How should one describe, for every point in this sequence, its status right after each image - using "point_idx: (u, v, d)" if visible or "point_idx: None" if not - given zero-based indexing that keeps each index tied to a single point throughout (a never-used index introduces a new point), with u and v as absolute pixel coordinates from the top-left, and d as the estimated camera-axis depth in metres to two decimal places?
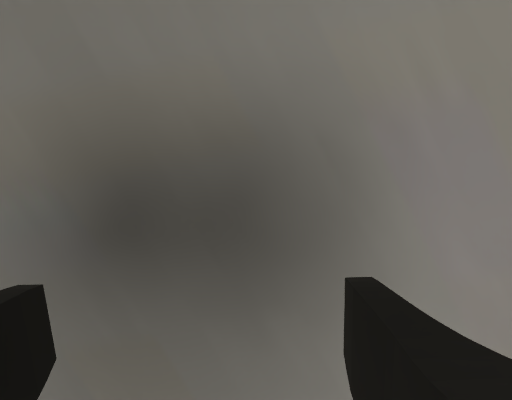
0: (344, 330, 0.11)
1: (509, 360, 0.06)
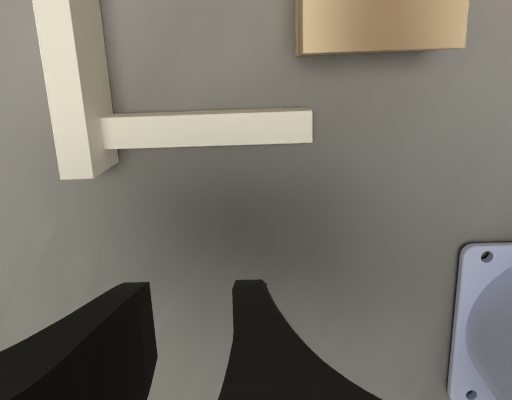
0: None
1: (321, 363, 0.06)
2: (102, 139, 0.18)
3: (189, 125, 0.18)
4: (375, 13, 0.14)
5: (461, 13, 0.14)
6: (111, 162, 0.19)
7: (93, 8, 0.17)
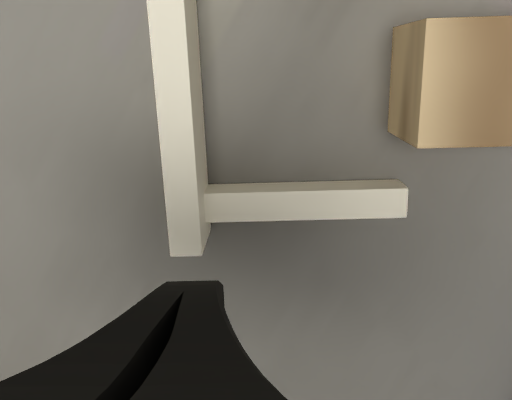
0: None
1: (247, 364, 0.06)
2: (204, 214, 0.18)
3: (289, 200, 0.18)
4: (489, 113, 0.15)
5: None
6: (208, 232, 0.19)
7: (199, 90, 0.18)
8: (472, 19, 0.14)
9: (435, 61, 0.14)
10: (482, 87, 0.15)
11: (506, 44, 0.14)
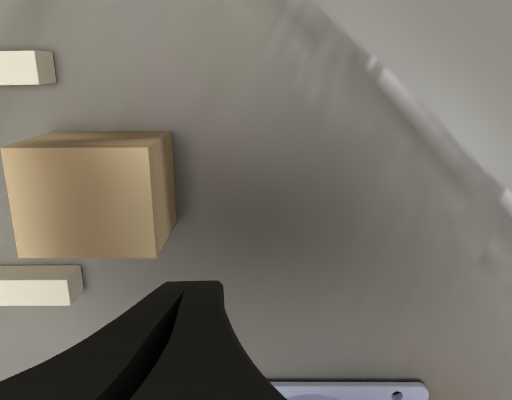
0: None
1: (247, 364, 0.06)
2: None
3: None
4: (75, 230, 0.16)
5: (148, 231, 0.16)
6: None
7: None
8: (40, 150, 0.16)
9: (16, 184, 0.16)
10: (64, 207, 0.16)
11: (76, 172, 0.16)
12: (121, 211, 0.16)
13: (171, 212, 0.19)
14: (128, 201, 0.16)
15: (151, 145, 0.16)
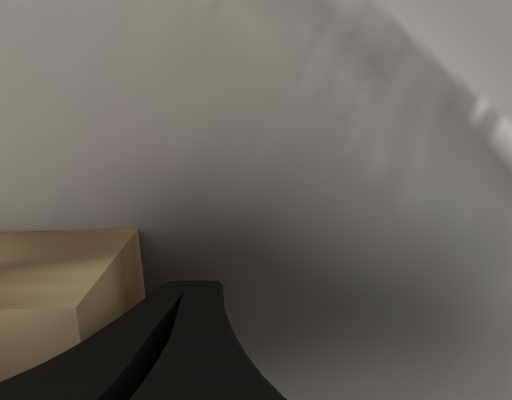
0: None
1: (246, 364, 0.06)
2: None
3: None
4: None
5: None
6: None
7: None
8: None
9: None
10: None
11: None
12: None
13: None
14: None
15: (86, 294, 0.08)
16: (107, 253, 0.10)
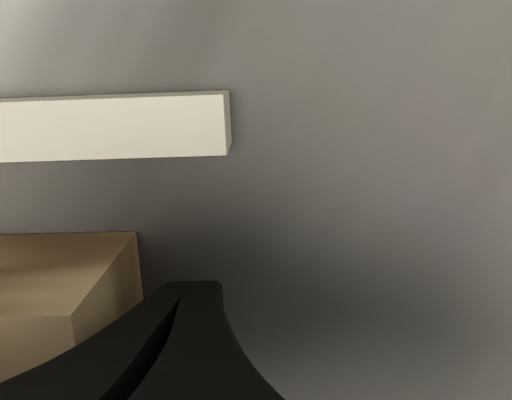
0: None
1: (245, 364, 0.06)
2: None
3: None
4: None
5: None
6: None
7: None
8: None
9: None
10: None
11: None
12: None
13: None
14: None
15: (82, 301, 0.08)
16: (104, 258, 0.10)
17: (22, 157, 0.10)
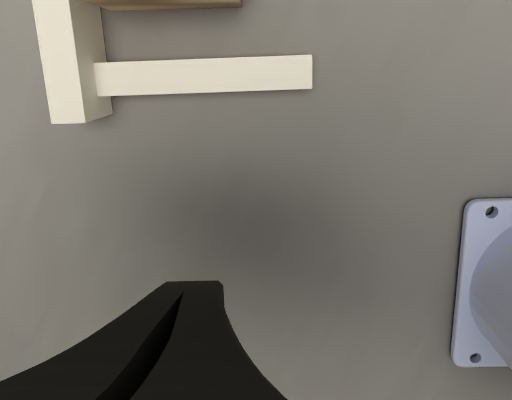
0: None
1: (247, 364, 0.06)
2: (95, 85, 0.17)
3: (185, 70, 0.17)
4: None
5: None
6: (104, 112, 0.18)
7: None
8: None
9: None
10: None
11: None
12: None
13: None
14: None
15: None
16: None
17: None
